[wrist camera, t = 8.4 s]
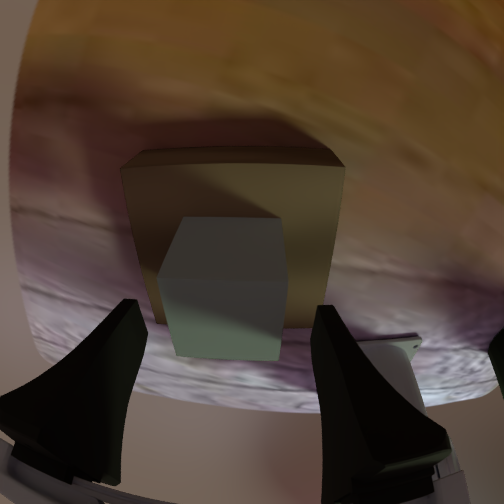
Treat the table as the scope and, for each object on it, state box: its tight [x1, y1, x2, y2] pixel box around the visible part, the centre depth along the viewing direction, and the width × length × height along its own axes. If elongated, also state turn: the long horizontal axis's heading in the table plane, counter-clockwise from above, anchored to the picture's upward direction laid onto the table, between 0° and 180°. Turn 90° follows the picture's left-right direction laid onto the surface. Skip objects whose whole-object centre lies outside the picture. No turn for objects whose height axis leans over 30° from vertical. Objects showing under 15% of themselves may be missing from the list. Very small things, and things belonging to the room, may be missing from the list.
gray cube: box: [157, 217, 289, 361], centre depth 13 cm, size 4×4×4 cm
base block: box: [120, 146, 346, 328], centre depth 16 cm, size 10×10×3 cm
